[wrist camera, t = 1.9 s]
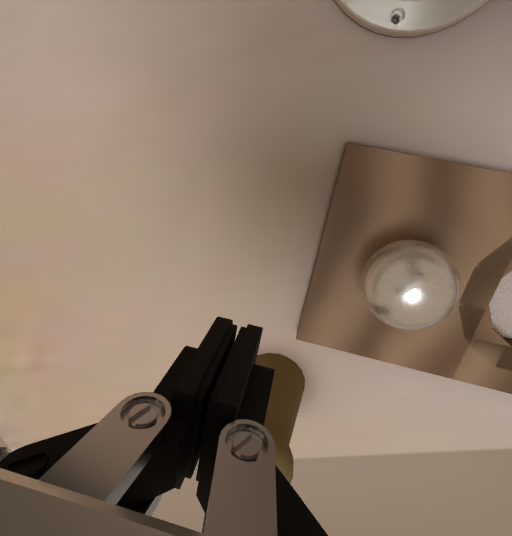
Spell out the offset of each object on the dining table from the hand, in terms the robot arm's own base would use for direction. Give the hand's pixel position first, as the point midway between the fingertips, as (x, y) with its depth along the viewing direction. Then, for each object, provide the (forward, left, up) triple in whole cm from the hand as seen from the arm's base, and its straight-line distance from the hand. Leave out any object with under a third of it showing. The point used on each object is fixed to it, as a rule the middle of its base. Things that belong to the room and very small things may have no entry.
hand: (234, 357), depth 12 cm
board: (0, +15, -17) cm, 22 cm away
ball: (0, +9, -12) cm, 15 cm away
